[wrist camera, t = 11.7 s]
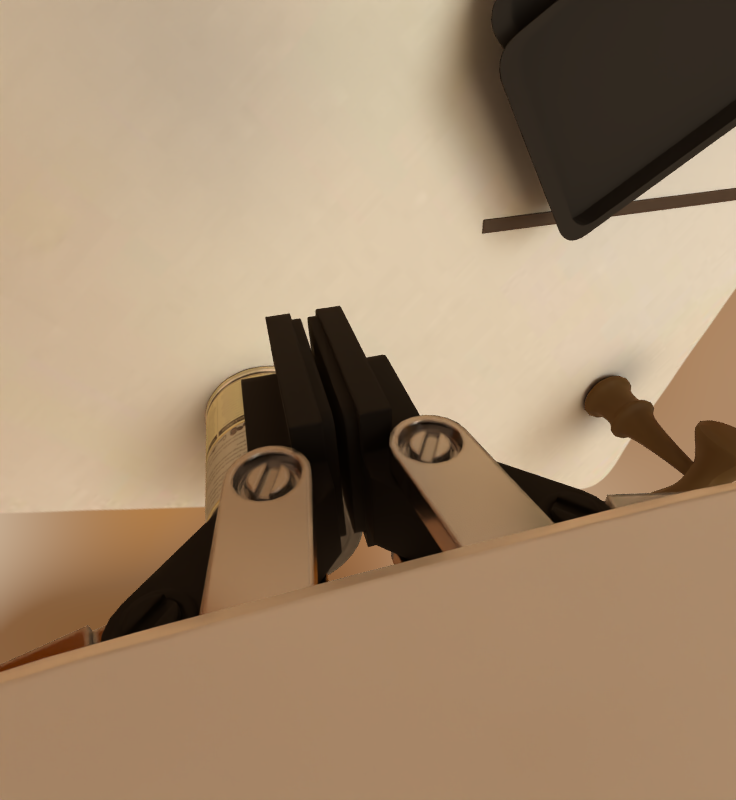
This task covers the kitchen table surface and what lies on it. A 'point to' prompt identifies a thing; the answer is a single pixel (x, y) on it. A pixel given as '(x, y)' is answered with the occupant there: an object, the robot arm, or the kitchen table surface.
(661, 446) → the kendama
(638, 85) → the tray
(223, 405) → the coffee can
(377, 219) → the kitchen table surface
